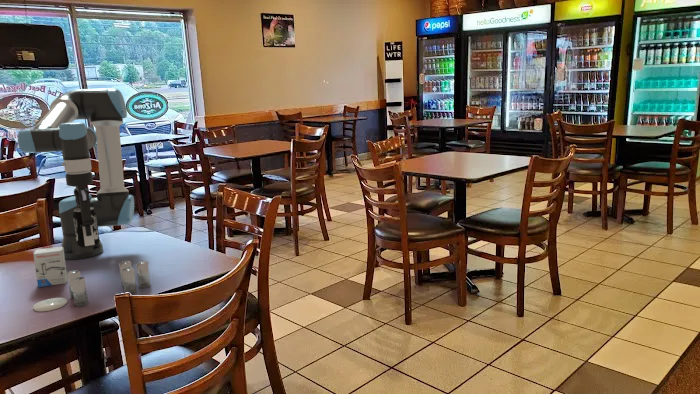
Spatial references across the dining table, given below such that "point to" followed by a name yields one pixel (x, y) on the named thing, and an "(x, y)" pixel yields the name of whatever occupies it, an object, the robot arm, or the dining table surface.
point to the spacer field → (127, 280)
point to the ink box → (50, 266)
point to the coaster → (50, 304)
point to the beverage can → (79, 229)
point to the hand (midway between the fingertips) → (88, 242)
